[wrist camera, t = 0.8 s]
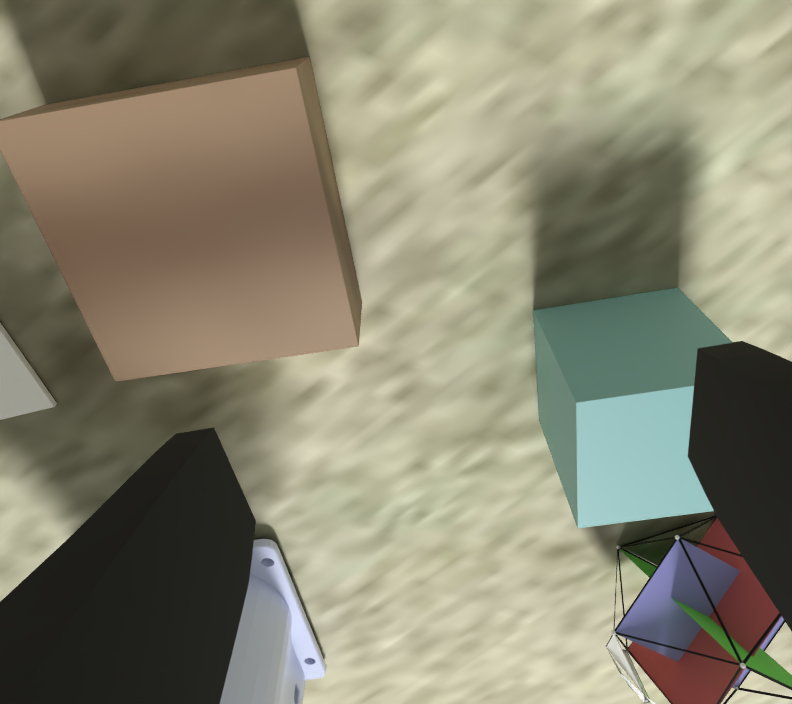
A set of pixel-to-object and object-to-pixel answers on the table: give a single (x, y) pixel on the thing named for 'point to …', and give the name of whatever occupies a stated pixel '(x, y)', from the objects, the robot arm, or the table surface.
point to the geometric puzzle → (698, 622)
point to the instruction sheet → (19, 382)
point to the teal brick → (622, 403)
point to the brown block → (194, 218)
